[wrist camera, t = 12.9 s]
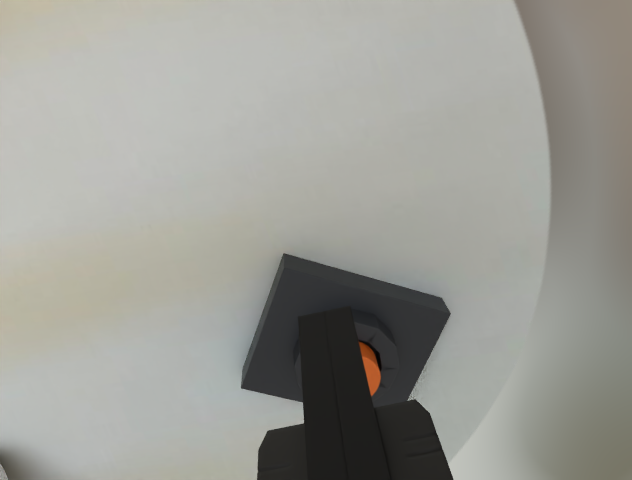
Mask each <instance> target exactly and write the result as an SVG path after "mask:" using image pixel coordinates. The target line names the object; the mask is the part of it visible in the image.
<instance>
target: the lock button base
mask: <svg viewBox="0 0 632 480" xmlns="http://www.w3.org/2000/svg"><path fill="white" fill-rule="evenodd" d="M346 306H351V310H352V315H353V319H354V324H355V328H356V332H357V337H358V341H360V342H362V343H364V344H366V345H367V346H369V347H370V348H371V349H372V351H373V352H374V354H375V357H376V360H377V364H378V367H379V370H380V375H381V380H380V384H379V387H378V389H377V390H376V392H375V393H374V394H373V395H372V396H371V398H372V402H373V406H374V408H375V407H380V406H385V405H390V404H395V403H400V402H405V401H407V400H408V398H409V396H410V394H411V392H412V390H413V388H414V386H415V384H416V382H417V380H418V378H419V376H420V374H421V372H422V370H423V368H424V366H425V364H426V362H427V360H428V358H429V356H430V354H431V352H432V350H433V348H434V346H435V344H436V342H437V340H438V338H439V336H440V334H441V332H442V330H443V328H444V326H445V324H446V322H447V320H448V318H449V316H450V314H451V313H450V312H449V310H448V308H447V306H446V305H445V303H444V301H443V299H442V298H440V297H436V296H433V295H429V294H425V293H422V292H418V291H415V290H411V289H408V288H404V287H401V286H397V285H394V284H390V283H386V282H383V281H379V280H376V279H372V278H369V277H365V276H362V275H358V274H355V273H351V272H347V271H344V270H340V269H337V268H333V267H330V266H326V265H323V264H319V263H316V262H312V261H308V260H305V259H301V258H298V257H294V256H291V255H287V254H283V256H282V259H281V262H280V265H279V268H278V271H277V273H276V276H275V279H274V282H273V285H272V288H271V290H270V293H269V296H268V299H267V302H266V304H265V307H264V310H263V313H262V316H261V319H260V321H259V324H258V327H257V330H256V333H255V336H254V338H253V341H252V344H251V347H250V350H249V353H248V355H247V358H246V361H245V364H244V367H243V370H242V382H241V388H242V389H246V390H251V391H255V392H260V393H264V394H268V395H273V396H277V397H281V398H286V399H290V400H295V401H299V402H303V392H302V375H301V358H300V341H299V325H298V316H303V315H308V314H313V313H317V312H322V311H327V310H332V309H336V308H341V307H346Z"/></svg>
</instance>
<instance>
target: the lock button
mask: <svg viewBox="0 0 632 480" xmlns="http://www.w3.org/2000/svg"><path fill="white" fill-rule="evenodd" d="M359 345H360V350H361V354H362V358H363V363H364V367H365V371H366V376H367V380H368V385H369V389H370V393H371V396H372V395H373V394H374V393H375V392H376V390H377V389H378V387H379V384H380V380H381V375H380V370H379V367H378V364H377V360H376V357H375V354H374V352H373V351H372V349H371V348H370V347H369V346H367V345H366V344H364V343H362V342H360V341H359Z"/></svg>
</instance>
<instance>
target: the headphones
mask: <svg viewBox="0 0 632 480" xmlns="http://www.w3.org/2000/svg"><path fill="white" fill-rule="evenodd" d="M0 480H8V478H7V475H6V473H5V471H4V469H3V467H2V465H1V464H0Z"/></svg>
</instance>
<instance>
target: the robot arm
mask: <svg viewBox="0 0 632 480" xmlns="http://www.w3.org/2000/svg"><path fill="white" fill-rule="evenodd" d="M298 325H299V341H300V358H301V375H302V392H303V408H304V424H299V425H294V426H289V427H284V428H279V429H274V430H269V431H268V432H267V434H266V436H265V438H264V440H263V442H262V444H261V446H260V448H259V451H258V473H257V480H453V477H452V474H451V471H450V468H449V466H448V463H447V460H446V457H445V455H444V452H443V450H442V446H441V443H440V441H439V438H438V435H437V433H436V430H435V427H434V424H433V421H432V418H431V416H430V413H429V412H428V411H427V410H426V409H425V408H424V407H423V406H422V405H421V404H420V403H419V402H418V401H416V400H415V399H414V400H409V401H405V402H400V403H395V404H390V405H385V406H380V407H375V408H374V406H373V402H372V398H371V393H370V389H369V385H368V380H367V376H366V371H365V367H364V363H363V358H362V354H361V350H360V345H359V341H358V337H357V332H356V328H355V324H354V319H353V315H352V310H351V306H346V307H341V308H336V309H332V310H327V311H322V312H317V313H313V314H308V315H303V316H298Z"/></svg>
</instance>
